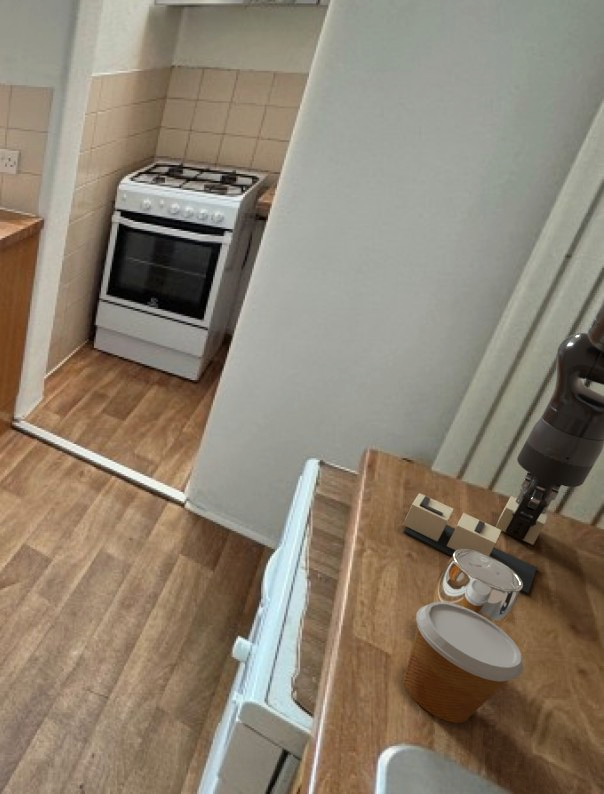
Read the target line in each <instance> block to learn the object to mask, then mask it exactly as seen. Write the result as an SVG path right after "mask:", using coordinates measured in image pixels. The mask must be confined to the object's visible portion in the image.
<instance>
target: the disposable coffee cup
mask: <svg viewBox="0 0 604 794" xmlns="http://www.w3.org/2000/svg"><path fill="white" fill-rule="evenodd" d="M415 619H416V625H417V627H416V630H415V634H414V638H413V642H412V646H411V650H410V654H409V657H408V660H407V661H408V662H407V666H406V670H405V672H404V676H403V685H404V688H405V690H406V691H407V693H408V694H409V696H410V697H411V698H412V699H413V700H414V701H415V703H417V704H418V705H419V706H420V707H422V708H423V709H424V710H425V711H427V712H428V713H430V714H431V715H433V716H435V717H436V718H438V719H441V720H443V721H447V722H449V723H455V724H462V723H465V722H466V721H468V719H470V717H471V716H472V715H473V714H475V713H476V711H478V710H479V708H480V707H482V706H483V705H484V704H485V703H486V702H487V701H488V700H489V699H490V698H491V697H492V696H493V695H494V694H496V692H498V690H500V689H501V688H502V687H503V686H504V685H505V684H506V683H507V682H509V681H512V680H516V679H517V678H519V677H520V676H521V675H522V673H523V670H524V666H523V662H522V654H521V651H520V649H519V647H518V645H517V644H516V642H515V641H514V640H513V639H512V637H510V636H509V634H508V633H506V632H505V631H504V629H502V628H501V627H500V626H499V627H498V626H496V625H495V624H494V623H492V622H491V621H490V620H488V619H486V618H485V617H483V616H481V615H480V614H478V613H476V612H474V611H472V610H469V609H467V608H465V607H462V606H459V605H456V604H452V603H448V602H433V601H432V602H431V603H429V604H426V605H424V606H423V605H422V607H420V608H419V609H418V610H417V612H416V616H415Z"/></svg>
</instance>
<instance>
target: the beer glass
mask: <svg viewBox="0 0 604 794" xmlns="http://www.w3.org/2000/svg"><path fill="white" fill-rule="evenodd" d="M522 587H523V583H522V581H521V579H520V577H519V576H518V575H517V574H516V573H515V572H514V571H513V570H512V569H510V568H509V567H508V566H506V565H505V564H503V563H502V562H500V561H498V560H497V559H495V558H493V557H491V556H488V555H486V554H484V553H481V552H478V551H474V550H469V549H459V550H456V551H455V552H454V554H453V556H452V557H451V556H450V558H449V560H448V561H447V563H446V564H445V565H444V567H443V569H442V570H441V572H440V573H439V576H438V578H437V580H436V584H435V587H434V592H433V596H432V597H433V598H432V603H433V602H448V603H452V604H456V605H459V606H462V607H465V608H467V609H469V610H472V611H474V612H476V613H478V614H480V615H481V616H483V617H485V618H486V619H488V620H490V621H491V622H492V623H494V624H495V625H496V626H498V627H499V628H500V626H501V625H502V624H504V623H505V621H506V620H507V619H508V617H509V616H510V614H511V613H512V611H513V609H514V607H515V606H516V603H517V602H518V601H517V600H518V598H519V595H520V594H521V589H522Z"/></svg>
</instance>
